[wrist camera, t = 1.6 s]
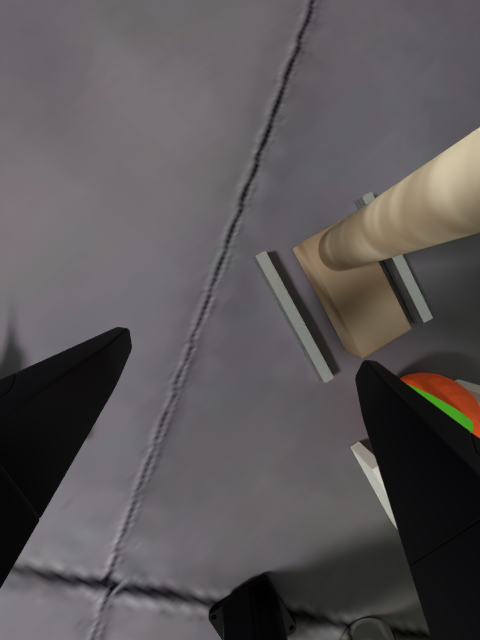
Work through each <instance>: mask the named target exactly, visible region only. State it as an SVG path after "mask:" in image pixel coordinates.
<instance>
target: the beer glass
mask: <svg viewBox="0 0 480 640" xmlns="http://www.w3.org/2000/svg"><path fill="white" fill-rule="evenodd" d="M341 640H396V637H395V635H394V633H393V631H392V629H391V628H390V627H389V625H388V624H387V623H386V622H384V621H383V620H381V619H378V618H373V617H368V618H363V619H360V620H357V621H356V622H354V623H352V624H351V625H350V626H349V627H348V628H347V629H346V630H345V632H344V633H343V635H342V637H341Z"/></svg>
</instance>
